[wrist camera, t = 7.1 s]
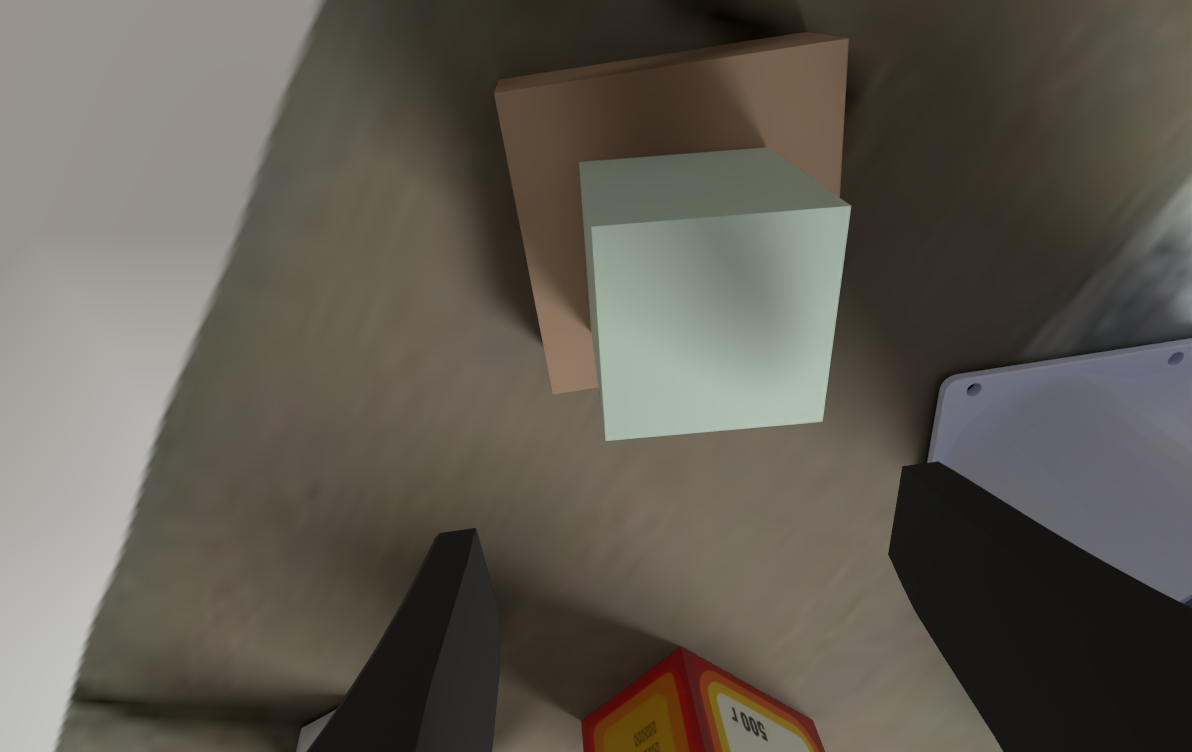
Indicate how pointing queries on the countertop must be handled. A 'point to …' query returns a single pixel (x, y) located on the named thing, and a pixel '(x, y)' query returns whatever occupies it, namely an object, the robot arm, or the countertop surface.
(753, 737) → the baking soda box
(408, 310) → the countertop surface
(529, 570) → the countertop surface
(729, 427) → the sage block
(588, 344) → the walnut block
